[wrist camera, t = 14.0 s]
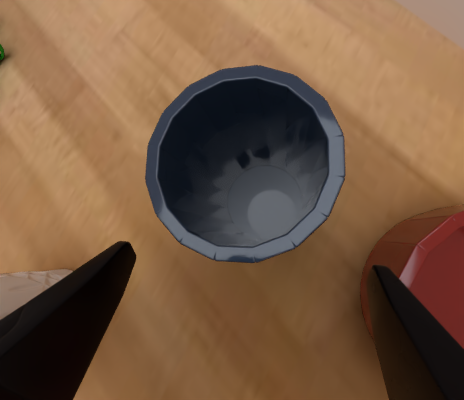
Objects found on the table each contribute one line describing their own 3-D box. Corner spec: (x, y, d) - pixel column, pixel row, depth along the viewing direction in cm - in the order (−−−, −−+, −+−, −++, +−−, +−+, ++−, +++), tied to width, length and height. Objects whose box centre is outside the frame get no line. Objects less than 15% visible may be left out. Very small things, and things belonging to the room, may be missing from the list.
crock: (322, 227, 19) (386, 215, 7) (241, 257, 20) (178, 291, 8) (287, 150, 20) (292, 32, 8) (213, 182, 21) (124, 116, 9)
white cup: (75, 244, 23) (-80, 252, 13) (119, 318, 21) (-24, 390, 11) (16, 297, 23) (-175, 343, 14) (53, 373, 21) (-136, 488, 12)
